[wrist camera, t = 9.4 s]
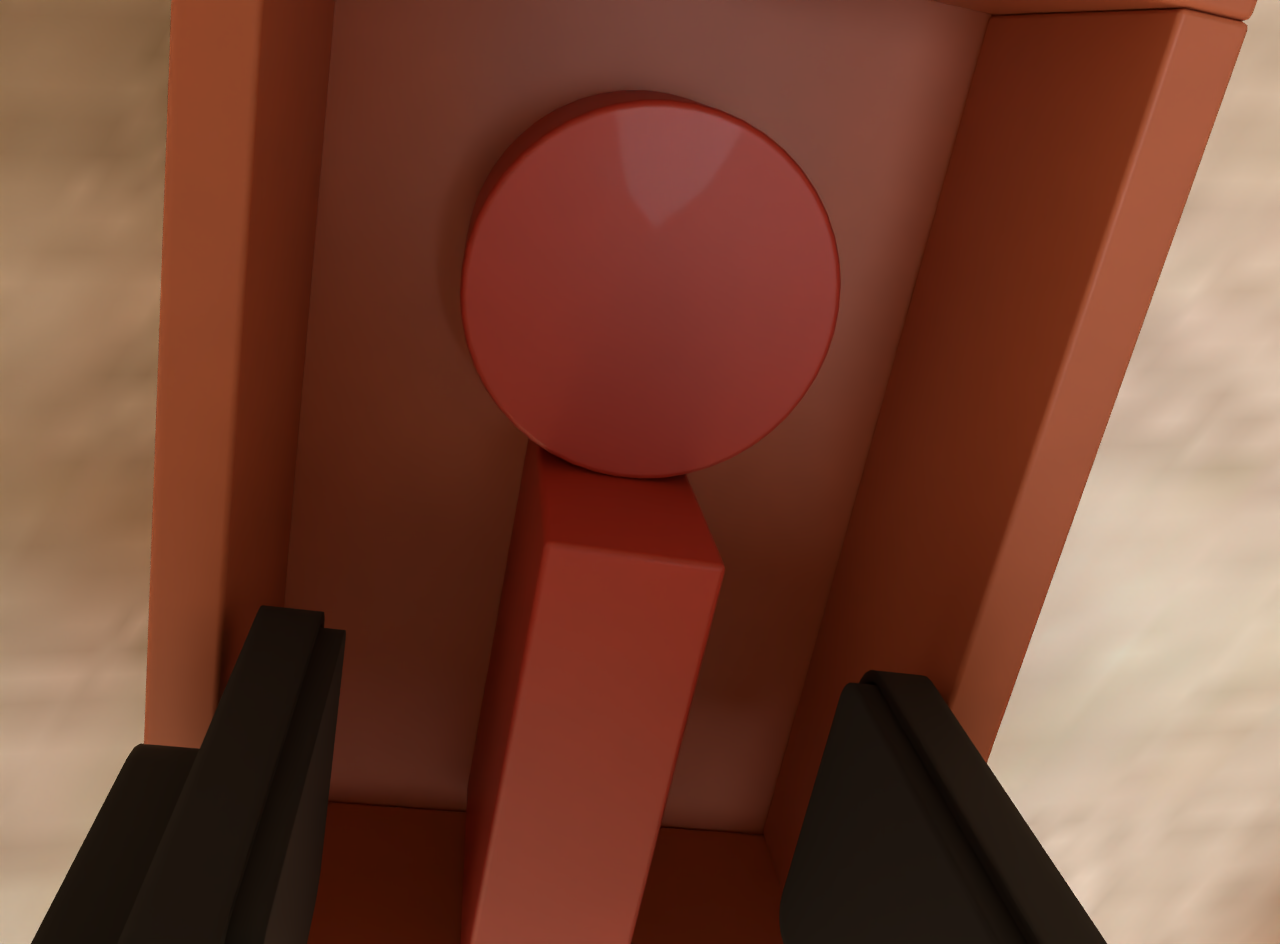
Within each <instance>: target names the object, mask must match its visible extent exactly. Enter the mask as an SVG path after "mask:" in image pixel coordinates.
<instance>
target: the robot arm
mask: <svg viewBox="0 0 1280 944" xmlns="http://www.w3.org/2000/svg"><path fill="white" fill-rule="evenodd" d="M324 624H325V615H324V612H322V611H313V610H303V609H294V608H284V607H275V606H266V605H262V606H260V608H259V610H258V612H257V614H256V617H255V619H254V621H253V624H252V626H251V628H250V631H249V633H248V635H247V638H246V640H245V643H244V645H243V647H242V650H241V652H240V654H239V657H238V659H237V661H236V664H235V666H234V669H233V671H232V673H231V676H230V678H229V680H228V683H227V685H226V688H225V690H224V692H223V695H222V697H221V699H220V702H219V704H218V706H217V709H216V711H215V714H214V716H213V718H212V721H211V723H210V725H209V728H208V730H207V732H206V735H205V737H204V740H203V742H202V744H201V747H200V749H199V748H187V747H175V746H163V745H151V744H139V745H137V746H136V747H134V748H133V750H132V751H131V753H130V754H129V756H128V758H127V759H126V761H125V763H124V765H123V767H122V769H121V771H120V773H119V775H118V777H117V778H116V780H115V782H114V784H113V786H112V788H111V790H110V792H109V794H108V796H107V798H106V800H105V802H104V804H103V806H102V807H101V809H100V811H99V813H98V815H97V817H96V819H95V821H94V823H93V825H92V827H91V829H90V831H89V833H88V834H87V836H86V838H85V840H84V842H83V844H82V846H81V848H80V850H79V852H78V854H77V856H76V858H75V860H74V862H73V863H72V865H71V867H70V869H69V871H68V873H67V875H66V877H65V879H64V881H63V883H62V885H61V887H60V889H59V891H58V892H57V894H56V896H55V898H54V900H53V902H52V904H51V906H50V908H49V910H48V912H47V914H46V916H45V918H44V920H43V921H42V923H41V925H40V927H39V929H38V931H37V933H36V935H35V937H34V939H33V941H32V943H31V944H307V941H308V937H309V932H310V927H311V923H312V918H313V913H314V908H315V903H316V898H317V892H318V885H319V879H320V872H321V863H322V854H323V845H324V836H325V826H326V817H327V808H328V799H329V789H330V780H331V771H332V762H333V752H334V743H335V734H336V725H337V715H338V706H339V697H340V688H341V678H342V669H343V660H344V651H345V641H346V630H341V629H331V628H324ZM779 923H780V932H781V937H782V941H783V944H1107V943H1106V941H1105V940H1104V938H1103V937H1102V935H1101V934H1100V932H1099V931H1098V929H1097V928H1096V926H1095V925H1094V923H1093V922H1092V920H1091V919H1090V917H1089V916H1088V914H1087V913H1086V911H1085V910H1084V908H1083V907H1082V905H1081V904H1080V902H1079V901H1078V899H1077V898H1076V896H1075V895H1074V893H1073V892H1072V890H1071V889H1070V887H1069V886H1068V884H1067V883H1066V881H1065V880H1064V878H1063V877H1062V875H1061V874H1060V872H1059V871H1058V870H1057V868H1056V867H1055V865H1054V864H1053V862H1052V861H1051V859H1050V858H1049V856H1048V855H1047V853H1046V852H1045V850H1044V849H1043V847H1042V846H1041V844H1040V843H1039V841H1038V840H1037V838H1036V837H1035V835H1034V834H1033V832H1032V831H1031V829H1030V828H1029V826H1028V825H1027V823H1026V822H1025V820H1024V819H1023V817H1022V816H1021V814H1020V813H1019V811H1018V810H1017V808H1016V807H1015V805H1014V804H1013V802H1012V801H1011V799H1010V798H1009V796H1008V795H1007V793H1006V792H1005V790H1004V789H1003V787H1002V786H1001V784H1000V783H999V781H998V780H997V778H996V777H995V775H994V774H993V772H992V771H991V769H990V768H989V766H988V765H987V763H986V762H985V760H984V759H983V757H982V756H981V754H980V753H979V751H978V750H977V748H976V747H975V745H974V744H973V742H972V741H971V739H970V738H969V736H968V735H967V733H966V732H965V730H964V729H963V727H962V726H961V724H960V723H959V721H958V720H957V718H956V717H955V715H954V714H953V713H952V711H951V710H950V708H949V707H948V705H947V704H946V702H945V701H944V699H943V698H942V696H941V695H940V693H939V692H938V690H937V689H936V687H935V686H934V684H933V683H932V681H931V680H930V679H929V678H928V677H927V676H923V675H915V674H905V673H896V672H886V671H877V670H869V671H868V672H866V673H865V674H864V675H863V677H862V678H861V679H860V682H859V683H851V682H850V683H848V684H846V686H845V687H844V688H843V690H842V692H841V695H840V698H839V701H838V705H837V708H836V711H835V715H834V718H833V722H832V725H831V729H830V732H829V735H828V739H827V742H826V746H825V749H824V752H823V756H822V759H821V763H820V766H819V770H818V773H817V776H816V780H815V783H814V787H813V790H812V793H811V797H810V800H809V804H808V807H807V811H806V814H805V817H804V821H803V824H802V828H801V831H800V834H799V838H798V841H797V845H796V848H795V852H794V855H793V858H792V862H791V865H790V869H789V872H788V876H787V879H786V882H785V886H784V889H783V893H782V897H781V901H780V910H779Z"/></svg>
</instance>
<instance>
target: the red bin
mask: <svg viewBox="0 0 1280 944" xmlns="http://www.w3.org/2000/svg"><path fill="white" fill-rule="evenodd" d="M1256 2H1257V0H172V1H171V28H170V55H169V82H168V109H167V136H166V163H165V190H164V217H163V244H162V271H161V299H160V326H159V353H158V380H157V407H156V434H155V461H154V488H153V515H152V542H151V569H150V596H149V624H148V651H147V678H146V705H145V732H144V744H151V745H163V746H175V747H187V748H199V749H200V747H201V744H202V742H203V740H204V737H205V735H206V732H207V730H208V728H209V725H210V723H211V721H212V718H213V716H214V714H215V711H216V709H217V706H218V704H219V702H220V699H221V697H222V695H223V692H224V690H225V688H226V685H227V683H228V680H229V678H230V676H231V673H232V671H233V669H234V666H235V664H236V661H237V659H238V657H239V654H240V652H241V650H242V647H243V645H244V643H245V640H246V638H247V635H248V633H249V631H250V628H251V626H252V624H253V621H254V619H255V617H256V614H257V612H258V610H259V608H260V606H262V605H266V606H275V607H284V608H294V609H303V610H313V611H322V612H324V615H325V624H324V628H331V629H341V630H346V641H345V651H344V660H343V669H342V678H341V688H340V697H339V706H338V715H337V725H336V734H335V743H334V752H333V762H332V771H331V780H330V789H329V799H328V808H327V817H326V826H325V836H324V845H323V854H322V863H321V872H320V879H319V885H318V892H317V898H316V903H315V908H314V913H313V918H312V923H311V927H310V932H309V937H308V941H307V944H460V943H461V920H462V897H463V875H464V852H465V830H466V807H467V786H468V781H469V775H470V769H471V764H472V758H473V752H474V746H475V741H476V735H477V729H478V724H479V718H480V712H481V706H482V701H483V695H484V689H485V684H486V678H487V672H488V667H489V661H490V655H491V649H492V644H493V638H494V632H495V627H496V621H497V615H498V609H499V604H500V598H501V592H502V587H503V581H504V575H505V569H506V564H507V558H508V552H509V547H510V541H511V535H512V530H513V524H514V518H515V512H516V507H517V501H518V495H519V490H520V484H521V478H522V472H523V467H524V461H525V455H526V450H527V444H528V437H527V436H526V435H524V434H523V433H522V432H521V431H520V430H519V429H518V428H516V427H515V426H514V425H513V424H512V423H511V421H510V420H509V419H508V418H507V417H506V416H505V415H504V414H503V412H502V411H501V410H500V409H499V408H498V407H497V405H496V404H495V402H494V401H493V399H492V398H491V396H490V395H489V393H488V392H487V390H486V389H485V387H484V385H483V383H482V381H481V379H480V377H479V375H478V373H477V371H476V369H475V367H474V365H473V362H472V359H471V356H470V353H469V350H468V347H467V344H466V340H465V335H464V330H463V324H462V319H461V305H460V283H461V270H462V262H463V256H464V250H465V244H466V239H467V233H468V229H469V224H470V219H471V215H472V212H473V209H474V206H475V203H476V200H477V198H478V195H479V192H480V190H481V188H482V186H483V184H484V182H485V181H486V179H487V177H488V175H489V173H490V171H491V170H492V168H493V167H494V166H495V164H496V163H497V161H498V160H499V158H500V157H501V156H502V154H503V153H504V152H505V151H506V150H507V148H508V147H509V146H510V145H511V144H512V143H513V142H514V141H515V140H516V139H517V138H518V137H519V136H520V135H521V134H522V133H523V132H525V131H526V130H527V129H528V128H529V127H531V126H532V125H533V124H534V123H535V122H537V121H538V120H540V119H541V118H543V117H545V116H546V115H548V114H550V113H551V112H553V111H554V110H556V109H558V108H560V107H563V106H565V105H567V104H569V103H572V102H574V101H576V100H579V99H582V98H586V97H589V96H593V95H596V94H600V93H606V92H614V91H621V90H649V91H656V92H663V93H669V94H673V95H676V96H680V97H683V98H687V99H690V100H693V101H696V102H699V103H702V104H705V105H708V106H711V107H714V108H716V109H719V110H722V111H724V112H726V113H729V114H731V115H733V116H735V117H738V118H740V119H742V120H744V121H746V122H747V123H749V124H751V125H752V126H754V127H755V128H757V129H759V130H760V131H762V132H763V133H765V134H766V135H768V136H769V137H770V138H771V139H772V140H773V141H775V142H776V143H777V144H778V145H779V146H781V147H782V148H783V149H784V150H785V151H786V152H787V153H788V154H789V155H790V156H791V157H792V158H793V160H794V161H795V162H796V163H797V164H798V165H799V166H800V167H801V169H802V170H803V171H804V173H805V174H806V176H807V177H808V179H809V180H810V182H811V183H812V185H813V186H814V188H815V189H816V191H817V193H818V195H819V197H820V199H821V201H822V203H823V205H824V207H825V209H826V211H827V214H828V217H829V220H830V223H831V226H832V229H833V232H834V235H835V239H836V244H837V249H838V255H839V260H840V278H841V290H840V303H839V312H838V317H837V322H836V327H835V332H834V335H833V338H832V341H831V344H830V347H829V350H828V353H827V356H826V358H825V360H824V362H823V364H822V366H821V368H820V370H819V372H818V374H817V376H816V378H815V380H814V381H813V383H812V384H811V386H810V388H809V389H808V391H807V392H806V394H805V395H804V397H803V398H802V399H801V401H800V402H799V403H798V404H797V406H796V407H795V408H794V409H793V410H792V412H791V413H790V414H789V415H788V416H787V417H786V418H785V419H784V420H783V421H782V422H781V423H780V424H779V425H778V426H777V427H776V428H775V429H774V430H773V431H772V432H770V433H769V434H768V435H766V436H765V437H764V438H762V439H761V440H760V441H758V442H757V443H756V444H754V445H753V446H752V447H750V448H748V449H746V450H745V451H743V452H741V453H740V454H738V455H736V456H734V457H733V458H731V459H728V460H726V461H724V462H721V463H719V464H716V465H714V466H712V467H709V468H706V469H702V470H699V471H695V472H692V473H689V474H686V475H687V477H688V480H689V482H690V485H691V487H692V489H693V492H694V494H695V496H696V499H697V501H698V504H699V506H700V508H701V511H702V513H703V515H704V518H705V520H706V523H707V525H708V527H709V530H710V532H711V534H712V537H713V539H714V542H715V544H716V546H717V549H718V551H719V553H720V556H721V558H722V561H723V563H724V566H725V573H724V577H723V581H722V585H721V589H720V593H719V597H718V601H717V605H716V609H715V613H714V617H713V621H712V625H711V629H710V632H709V636H708V640H707V644H706V648H705V652H704V656H703V660H702V664H701V668H700V672H699V676H698V680H697V684H696V688H695V692H694V696H693V700H692V704H691V708H690V712H689V716H688V720H687V724H686V728H685V732H684V736H683V739H682V743H681V747H680V751H679V755H678V759H677V763H676V767H675V771H674V775H673V779H672V783H671V787H670V791H669V795H668V799H667V803H666V807H665V811H664V815H663V819H662V823H661V827H660V831H659V835H658V839H657V843H656V847H655V850H654V854H653V858H652V862H651V866H650V870H649V874H648V878H647V882H646V886H645V890H644V894H643V898H642V902H641V906H640V910H639V914H638V918H637V922H636V926H635V930H634V934H633V938H632V942H631V944H783V941H782V937H781V932H780V923H779V910H780V901H781V897H782V893H783V889H784V886H785V882H786V879H787V876H788V872H789V869H790V865H791V862H792V858H793V855H794V852H795V848H796V845H797V841H798V838H799V834H800V831H801V828H802V824H803V821H804V817H805V814H806V811H807V807H808V804H809V800H810V797H811V793H812V790H813V787H814V783H815V780H816V776H817V773H818V770H819V766H820V763H821V759H822V756H823V752H824V749H825V746H826V742H827V739H828V735H829V732H830V729H831V725H832V722H833V718H834V715H835V711H836V708H837V705H838V701H839V698H840V695H841V692H842V690H843V688H844V687H845V686H846V684H848V683H850V682H851V683H859V682H860V679H861V678H862V677H863V675H864V674H865V673H866V672H868V671H869V670H877V671H886V672H896V673H905V674H915V675H923V676H927V677H928V678H929V679H930V680H931V681H932V683H933V684H934V686H935V687H936V689H937V690H938V692H939V693H940V695H941V696H942V698H943V699H944V701H945V702H946V704H947V705H948V707H949V708H950V710H951V711H952V713H953V714H954V715H955V717H956V718H957V720H958V721H959V723H960V724H961V726H962V727H963V729H964V730H965V732H966V733H967V735H968V736H969V738H970V739H971V741H972V742H973V744H974V745H975V747H976V748H977V750H978V751H979V753H980V754H981V756H982V757H983V759H984V760H985V762H986V763H987V760H988V758H989V755H990V752H991V749H992V746H993V744H994V741H995V738H996V735H997V732H998V730H999V727H1000V724H1001V721H1002V718H1003V715H1004V713H1005V710H1006V707H1007V704H1008V701H1009V699H1010V696H1011V693H1012V690H1013V687H1014V685H1015V682H1016V679H1017V676H1018V673H1019V670H1020V668H1021V665H1022V662H1023V659H1024V656H1025V654H1026V651H1027V648H1028V645H1029V642H1030V640H1031V637H1032V634H1033V631H1034V628H1035V625H1036V623H1037V620H1038V617H1039V614H1040V611H1041V609H1042V606H1043V603H1044V600H1045V597H1046V595H1047V592H1048V589H1049V586H1050V583H1051V580H1052V578H1053V575H1054V572H1055V569H1056V566H1057V564H1058V561H1059V558H1060V555H1061V552H1062V550H1063V547H1064V544H1065V541H1066V538H1067V535H1068V533H1069V530H1070V527H1071V524H1072V521H1073V519H1074V516H1075V513H1076V510H1077V507H1078V505H1079V502H1080V499H1081V496H1082V493H1083V490H1084V488H1085V485H1086V482H1087V479H1088V476H1089V474H1090V471H1091V468H1092V465H1093V462H1094V460H1095V457H1096V454H1097V451H1098V448H1099V445H1100V443H1101V440H1102V437H1103V434H1104V431H1105V429H1106V426H1107V423H1108V420H1109V417H1110V415H1111V412H1112V409H1113V406H1114V403H1115V400H1116V398H1117V395H1118V392H1119V389H1120V386H1121V384H1122V381H1123V378H1124V375H1125V372H1126V370H1127V367H1128V364H1129V361H1130V358H1131V355H1132V353H1133V350H1134V347H1135V344H1136V341H1137V339H1138V336H1139V333H1140V330H1141V327H1142V325H1143V322H1144V319H1145V316H1146V313H1147V310H1148V308H1149V305H1150V302H1151V299H1152V296H1153V294H1154V291H1155V288H1156V285H1157V282H1158V280H1159V277H1160V274H1161V271H1162V268H1163V265H1164V263H1165V260H1166V257H1167V254H1168V251H1169V249H1170V246H1171V243H1172V240H1173V237H1174V235H1175V232H1176V229H1177V226H1178V223H1179V220H1180V218H1181V215H1182V212H1183V209H1184V206H1185V204H1186V201H1187V198H1188V195H1189V192H1190V190H1191V187H1192V184H1193V181H1194V178H1195V175H1196V173H1197V170H1198V167H1199V164H1200V161H1201V159H1202V156H1203V153H1204V150H1205V147H1206V145H1207V142H1208V139H1209V136H1210V133H1211V130H1212V128H1213V125H1214V122H1215V119H1216V116H1217V114H1218V111H1219V108H1220V105H1221V102H1222V99H1223V97H1224V94H1225V91H1226V88H1227V85H1228V83H1229V80H1230V77H1231V74H1232V71H1233V69H1234V66H1235V63H1236V60H1237V57H1238V54H1239V52H1240V49H1241V46H1242V43H1243V40H1244V38H1245V35H1246V32H1247V25H1246V24H1245V23H1243V22H1242V21H1243V20H1247V19H1249V18H1250V16H1251V15H1252V13H1253V11H1254V8H1255V5H1256Z"/></svg>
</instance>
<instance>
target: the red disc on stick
mask: <svg viewBox="0 0 1280 944" xmlns="http://www.w3.org/2000/svg"><path fill="white" fill-rule="evenodd" d="M840 290H841V278H840V260H839V255H838V249H837V244H836V239H835V235H834V232H833V229H832V226H831V223H830V220H829V217H828V214H827V211H826V209H825V207H824V205H823V203H822V201H821V199H820V197H819V195H818V193H817V191H816V189H815V188H814V186H813V185H812V183H811V182H810V180H809V179H808V177H807V176H806V174H805V173H804V171H803V170H802V169H801V167H800V166H799V165H798V164H797V163H796V162H795V161H794V160H793V158H792V157H791V156H790V155H789V154H788V153H787V152H786V151H785V150H784V149H783V148H782V147H781V146H779V145H778V144H777V143H776V142H775V141H773V140H772V139H771V138H770V137H769V136H768V135H766V134H765V133H763V132H762V131H760V130H759V129H757V128H755V127H754V126H752V125H751V124H749V123H747V122H746V121H744V120H742V119H740V118H738V117H735V116H733V115H731V114H729V113H726V112H724V111H722V110H719V109H716V108H714V107H711V106H708V105H705V104H702V103H699V102H696V101H693V100H690V99H687V98H683V97H680V96H676V95H673V94H669V93H663V92H656V91H649V90H621V91H614V92H606V93H600V94H596V95H593V96H589V97H586V98H582V99H579V100H576V101H574V102H572V103H569V104H567V105H565V106H563V107H560V108H558V109H556V110H554V111H553V112H551V113H550V114H548V115H546V116H545V117H543V118H541V119H540V120H538V121H537V122H535V123H534V124H533V125H532V126H531V127H529V128H528V129H527V130H526V131H525V132H523V133H522V134H521V135H520V136H519V137H518V138H517V139H516V140H515V141H514V142H513V143H512V144H511V145H510V146H509V147H508V148H507V150H506V151H505V152H504V153H503V154H502V156H501V157H500V158H499V160H498V161H497V163H496V164H495V166H494V167H493V168H492V170H491V171H490V173H489V175H488V177H487V179H486V181H485V182H484V184H483V186H482V188H481V190H480V192H479V195H478V198H477V200H476V203H475V206H474V209H473V212H472V215H471V219H470V224H469V229H468V233H467V239H466V244H465V250H464V256H463V262H462V270H461V283H460V305H461V319H462V324H463V330H464V335H465V340H466V344H467V347H468V350H469V353H470V356H471V359H472V362H473V365H474V367H475V369H476V371H477V373H478V375H479V377H480V379H481V381H482V383H483V385H484V387H485V389H486V390H487V392H488V393H489V395H490V396H491V398H492V399H493V401H494V402H495V404H496V405H497V407H498V408H499V409H500V410H501V411H502V412H503V414H504V415H505V416H506V417H507V418H508V419H509V420H510V421H511V423H512V424H513V425H514V426H515V427H516V428H518V429H519V430H520V431H521V432H522V433H523V434H524V435H526V436H527V437H528V444H527V450H526V455H525V461H524V467H523V472H522V478H521V484H520V490H519V495H518V501H517V507H516V512H515V518H514V524H513V530H512V535H511V541H510V547H509V552H508V558H507V564H506V569H505V575H504V581H503V587H502V592H501V598H500V604H499V609H498V615H497V621H496V627H495V632H494V638H493V644H492V649H491V655H490V661H489V667H488V672H487V678H486V684H485V689H484V695H483V701H482V706H481V712H480V718H479V724H478V729H477V735H476V741H475V746H474V752H473V758H472V764H471V769H470V775H469V781H468V786H467V807H466V830H465V852H464V875H463V897H462V920H461V943H460V944H631V942H632V938H633V934H634V930H635V926H636V922H637V918H638V914H639V910H640V906H641V902H642V898H643V894H644V890H645V886H646V882H647V878H648V874H649V870H650V866H651V862H652V858H653V854H654V850H655V847H656V843H657V839H658V835H659V831H660V827H661V823H662V819H663V815H664V811H665V807H666V803H667V799H668V795H669V791H670V787H671V783H672V779H673V775H674V771H675V767H676V763H677V759H678V755H679V751H680V747H681V743H682V739H683V736H684V732H685V728H686V724H687V720H688V716H689V712H690V708H691V704H692V700H693V696H694V692H695V688H696V684H697V680H698V676H699V672H700V668H701V664H702V660H703V656H704V652H705V648H706V644H707V640H708V636H709V632H710V629H711V625H712V621H713V617H714V613H715V609H716V605H717V601H718V597H719V593H720V589H721V585H722V581H723V577H724V573H725V566H724V563H723V561H722V558H721V556H720V553H719V551H718V549H717V546H716V544H715V542H714V539H713V537H712V534H711V532H710V530H709V527H708V525H707V523H706V520H705V518H704V515H703V513H702V511H701V508H700V506H699V504H698V501H697V499H696V496H695V494H694V492H693V489H692V487H691V485H690V482H689V480H688V477H687V475H686V474H689V473H692V472H695V471H699V470H702V469H706V468H709V467H712V466H714V465H716V464H719V463H721V462H724V461H726V460H728V459H731V458H733V457H734V456H736V455H738V454H740V453H741V452H743V451H745V450H746V449H748V448H750V447H752V446H753V445H754V444H756V443H757V442H758V441H760V440H761V439H762V438H764V437H765V436H766V435H768V434H769V433H770V432H772V431H773V430H774V429H775V428H776V427H777V426H778V425H779V424H780V423H781V422H782V421H783V420H784V419H785V418H786V417H787V416H788V415H789V414H790V413H791V412H792V410H793V409H794V408H795V407H796V406H797V404H798V403H799V402H800V401H801V399H802V398H803V397H804V395H805V394H806V392H807V391H808V389H809V388H810V386H811V384H812V383H813V381H814V380H815V378H816V376H817V374H818V372H819V370H820V368H821V366H822V364H823V362H824V360H825V358H826V356H827V353H828V350H829V347H830V344H831V341H832V338H833V335H834V332H835V327H836V322H837V317H838V312H839V303H840Z"/></svg>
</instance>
